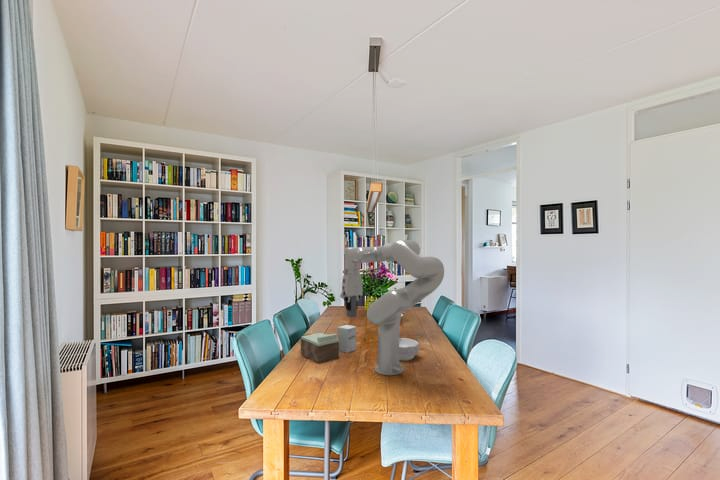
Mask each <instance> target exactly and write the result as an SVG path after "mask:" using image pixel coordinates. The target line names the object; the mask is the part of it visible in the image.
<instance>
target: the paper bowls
mask: <svg viewBox="0 0 720 480" xmlns="http://www.w3.org/2000/svg"><path fill="white" fill-rule="evenodd" d="M419 347H420V346H419V342H418V341H416V340H414V339H412V338H407V337H399V361H401V362H402V361H411V360H413V359H414V358H415V356H417V355H418V354H419Z"/></svg>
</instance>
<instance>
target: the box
mask: <svg viewBox="0 0 720 480" xmlns="http://www.w3.org/2000/svg"><path fill="white" fill-rule="evenodd" d="M307 335H312V334H311V333H310V334H303V335H302V336H307ZM300 353H301V356H302V357H304V358H306V359H308V360H310V361H312V362H314V363H316V364H318V365H319V364H323V363H327V362H331V361H335V360H339V358H340V351H339V342H335V343H331V344H326V345H322V346H317V345H314V344H312V343H310V342H308V341H305V340H303V339H301V338H300Z"/></svg>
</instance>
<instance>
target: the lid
mask: <svg viewBox="0 0 720 480" xmlns="http://www.w3.org/2000/svg"><path fill="white" fill-rule="evenodd" d="M306 335H307V336H303V335H300V340H301V339H303V340H305V341H308V342H310V343H312V344H314V345H317V346H322V345H326V344H331V343H335V342H339V339H338V333H331V334H327V333H323V332H318V333H313V334H312V335H308V334H306Z"/></svg>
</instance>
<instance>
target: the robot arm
mask: <svg viewBox="0 0 720 480" xmlns="http://www.w3.org/2000/svg"><path fill="white" fill-rule="evenodd" d="M343 252H344V253H343V254H344V255H343V256H344V259H343V260H344V261H343V262H344V267H343V268H344V269H343V270H342V274H343V276H342V282H341V294H340V298H341V299H343V300H344V302H345V310H346V311H347V310H349V311H350V310H351V302H350V297H351V296H357V307H358V302H359V300H360V298H361V297H362V296H363V295H364V294H363V291H364V290H363V279H362V275H361V274H360V264H365V263H378V262H389V263H390V262H396V263H397V264H398V265H399V266H400V267H402V269H403V270H404V271H406V273H408V274H409V275H410V276H412V277H413V278H415V279H414V280H413V281H411V282H410V283H409V284H407V285H406V286H404V287H402V288H396V289H392V290H389V291H387V292H386V293H384V294H382V295H381V296H380V297H379V298H377V299H376V300H374V301H373V302H372V303H371V304H370V305H369V306H368V308H367V309H366V318H367V320H368V322H369V323H370V324H372V325H375V326H378V329H377V330H378V332H377V364H376V365H374V372H375V373H377V374H378V375H383V376H397V375H399V374H402V373H403V372H404V370H406V369H405V368H406V367H404V366H402V364H401V363H402V361H401V360H399V338H400V324H401V318H402V312H405V311H408V310H410V309H412V308H413V307H414V306H416V305H417V304H419V302H421V301H423V300H424V299H425V298H426V297H428V296H430V295H431V294H432V293H433V292H435V291H436V290H437V289H438V288H439V287H440V285H441V284H442V282H443V280H444V276H445V266H444V263H443V262H442V261H441V259H439V258H437V257H434V256H420V253H421V247H420V245H419V243H418V242H416V241H415V240H411V239H399V240H396V241H392V242H385V243H384V244H383V245H379V246H359V247H355V246H350V247H349V246H348V247H345V248H344V251H343Z"/></svg>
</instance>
